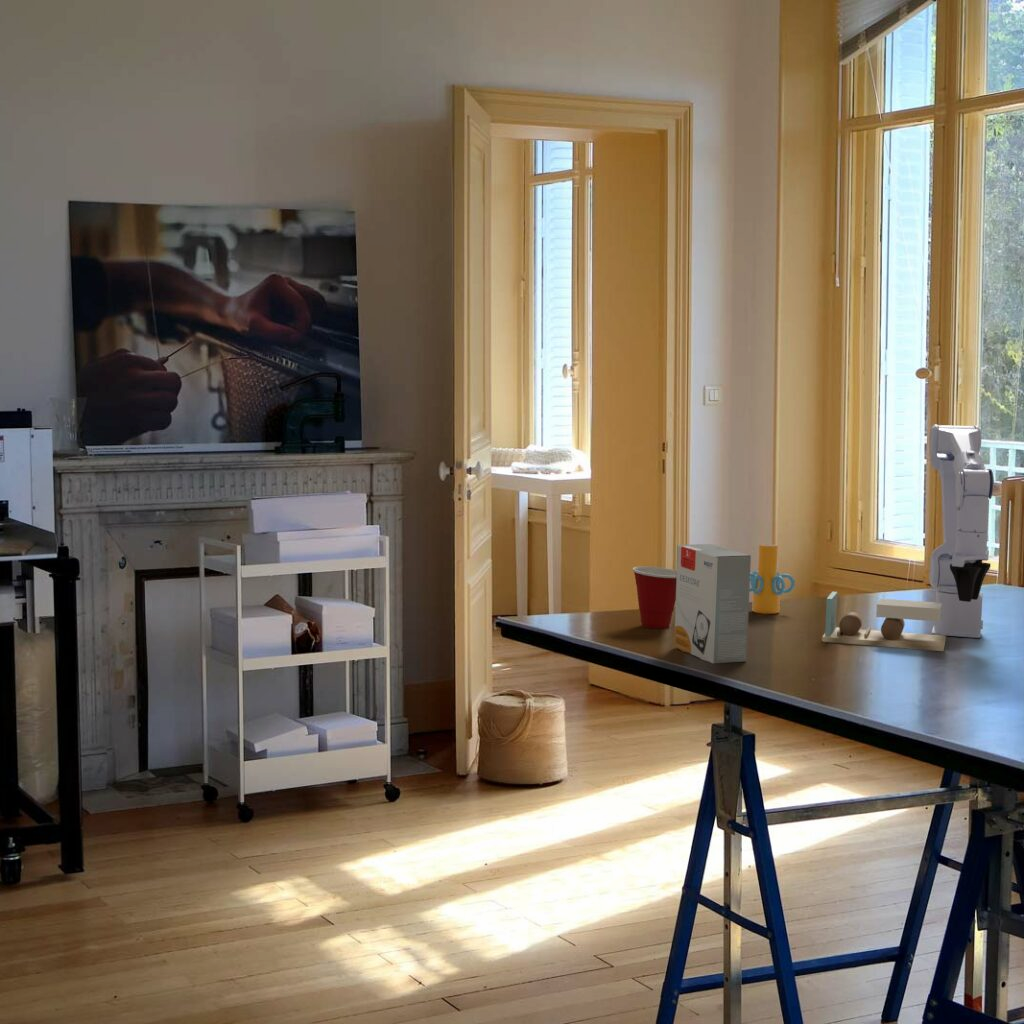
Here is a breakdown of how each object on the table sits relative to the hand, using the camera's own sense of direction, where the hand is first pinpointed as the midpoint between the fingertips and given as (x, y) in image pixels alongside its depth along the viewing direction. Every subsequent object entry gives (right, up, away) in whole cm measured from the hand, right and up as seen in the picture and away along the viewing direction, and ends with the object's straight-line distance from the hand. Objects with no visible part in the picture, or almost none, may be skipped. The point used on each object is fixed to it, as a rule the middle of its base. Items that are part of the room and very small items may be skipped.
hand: (968, 600), depth 277 cm
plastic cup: (-59, -7, +17) cm, 62 cm away
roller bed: (-15, -9, +6) cm, 18 cm away
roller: (-21, -7, +8) cm, 23 cm away
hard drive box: (-52, -10, -12) cm, 54 cm away
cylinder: (-33, -5, +38) cm, 51 cm away
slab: (-10, -3, +4) cm, 12 cm away
